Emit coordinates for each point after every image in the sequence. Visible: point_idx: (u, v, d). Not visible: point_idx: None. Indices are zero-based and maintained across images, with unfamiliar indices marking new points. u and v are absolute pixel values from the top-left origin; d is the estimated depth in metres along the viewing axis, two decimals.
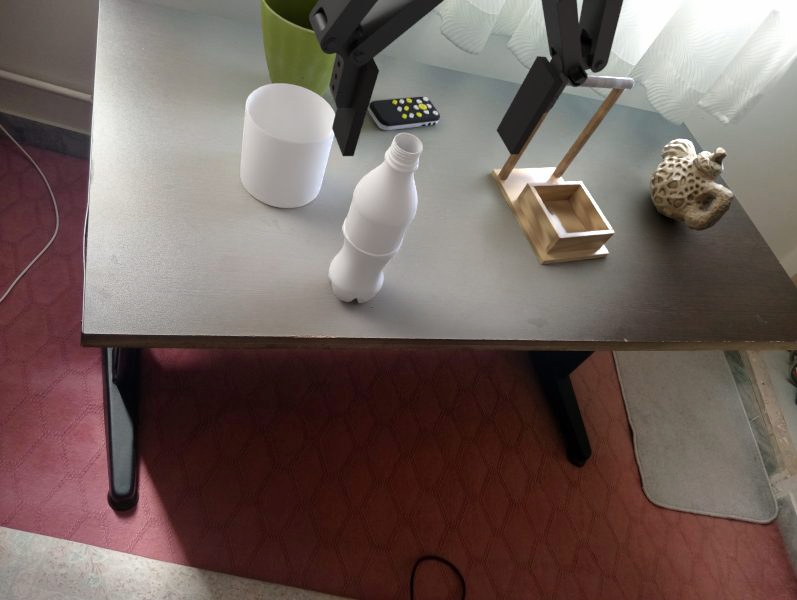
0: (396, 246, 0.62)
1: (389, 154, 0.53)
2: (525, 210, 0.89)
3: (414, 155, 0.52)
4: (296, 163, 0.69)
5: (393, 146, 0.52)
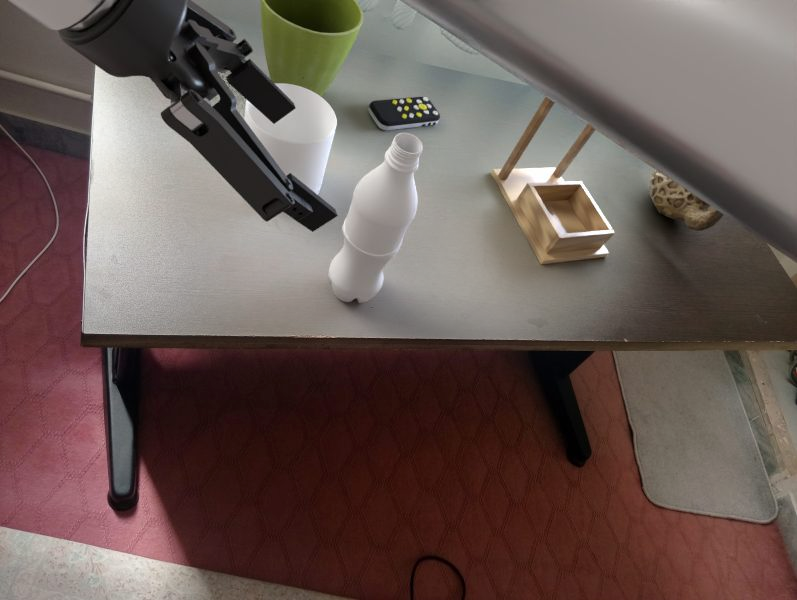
0: (396, 246, 0.62)
1: (389, 154, 0.53)
2: (525, 210, 0.89)
3: (414, 155, 0.52)
4: (296, 163, 0.69)
5: (393, 146, 0.52)
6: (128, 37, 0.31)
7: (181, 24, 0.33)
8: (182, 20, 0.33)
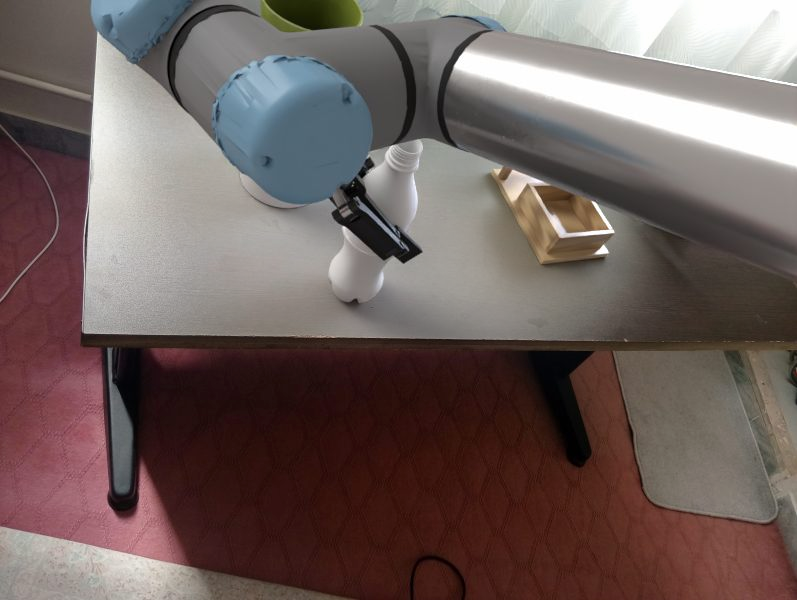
0: None
1: (389, 154, 0.53)
2: (525, 210, 0.89)
3: (414, 155, 0.52)
4: None
5: (393, 146, 0.52)
6: None
7: None
8: None
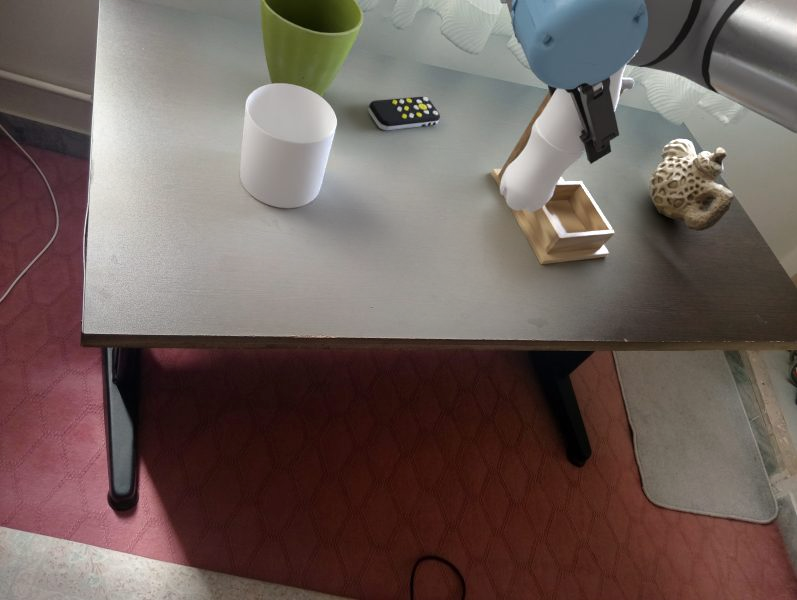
0: None
1: None
2: (525, 210, 0.89)
3: None
4: (296, 163, 0.69)
5: None
6: None
7: None
8: None
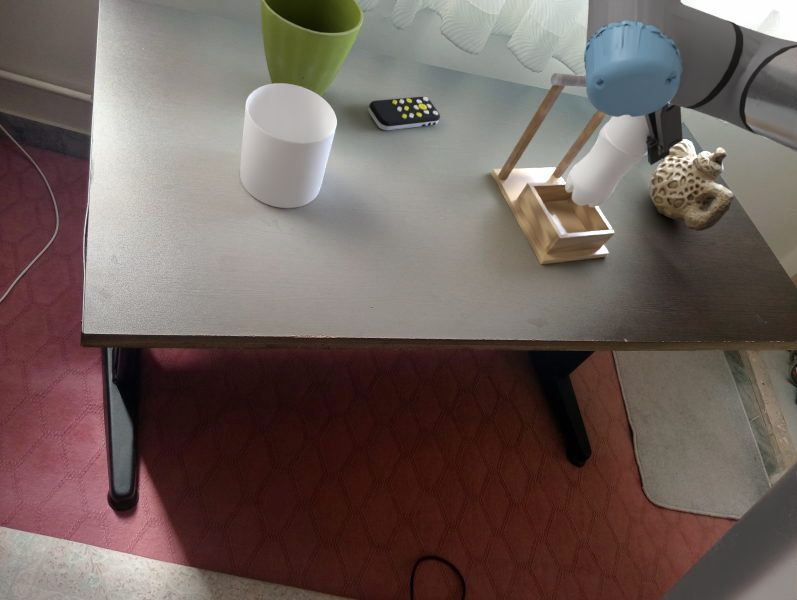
0: None
1: None
2: (525, 210, 0.89)
3: None
4: (296, 163, 0.69)
5: None
6: None
7: None
8: None
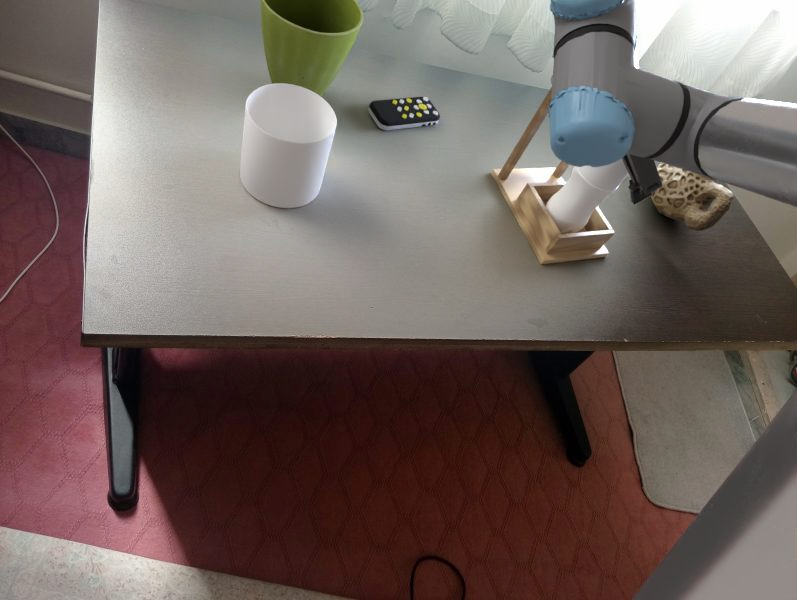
0: (619, 184, 0.80)
1: None
2: (525, 210, 0.89)
3: None
4: (296, 163, 0.69)
5: None
6: None
7: None
8: None
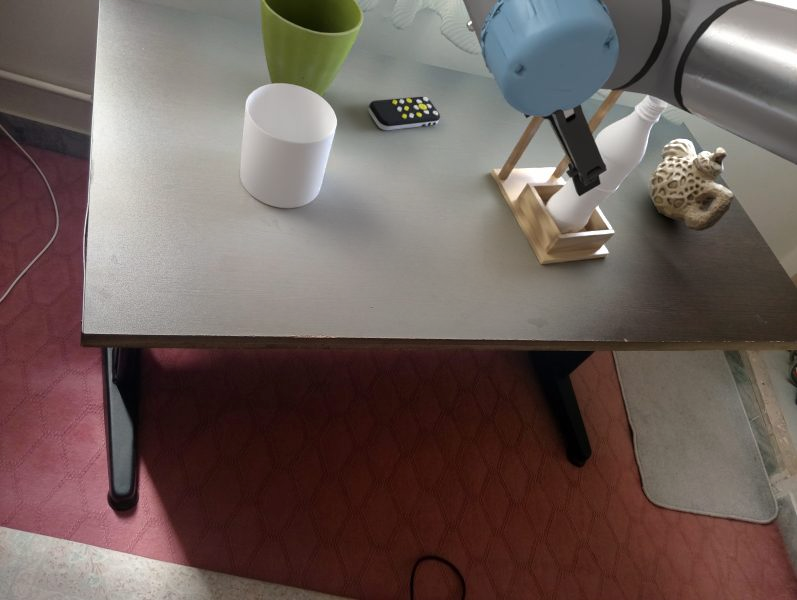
0: (619, 184, 0.80)
1: (641, 108, 0.71)
2: (525, 210, 0.89)
3: (663, 109, 0.70)
4: (296, 163, 0.69)
5: (647, 102, 0.71)
6: None
7: None
8: None
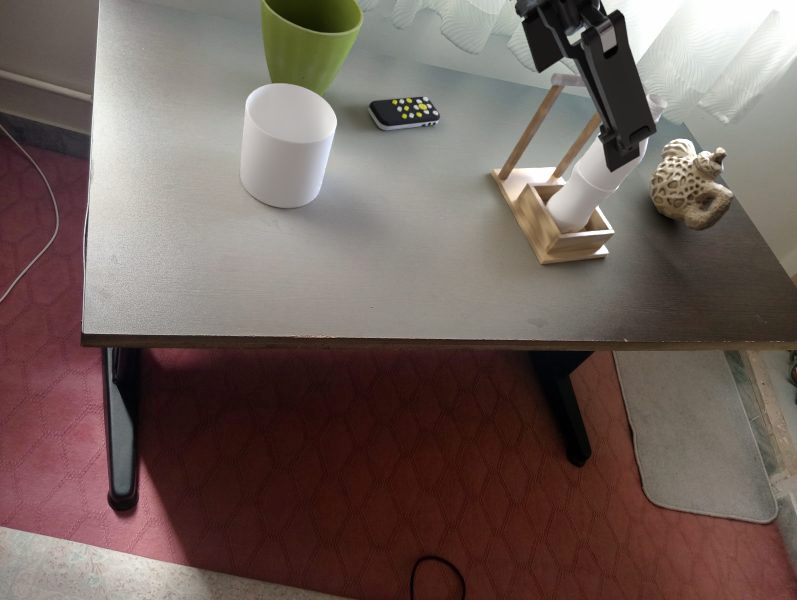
0: (619, 184, 0.80)
1: None
2: (525, 210, 0.89)
3: (663, 109, 0.70)
4: (296, 163, 0.69)
5: None
6: None
7: None
8: None
